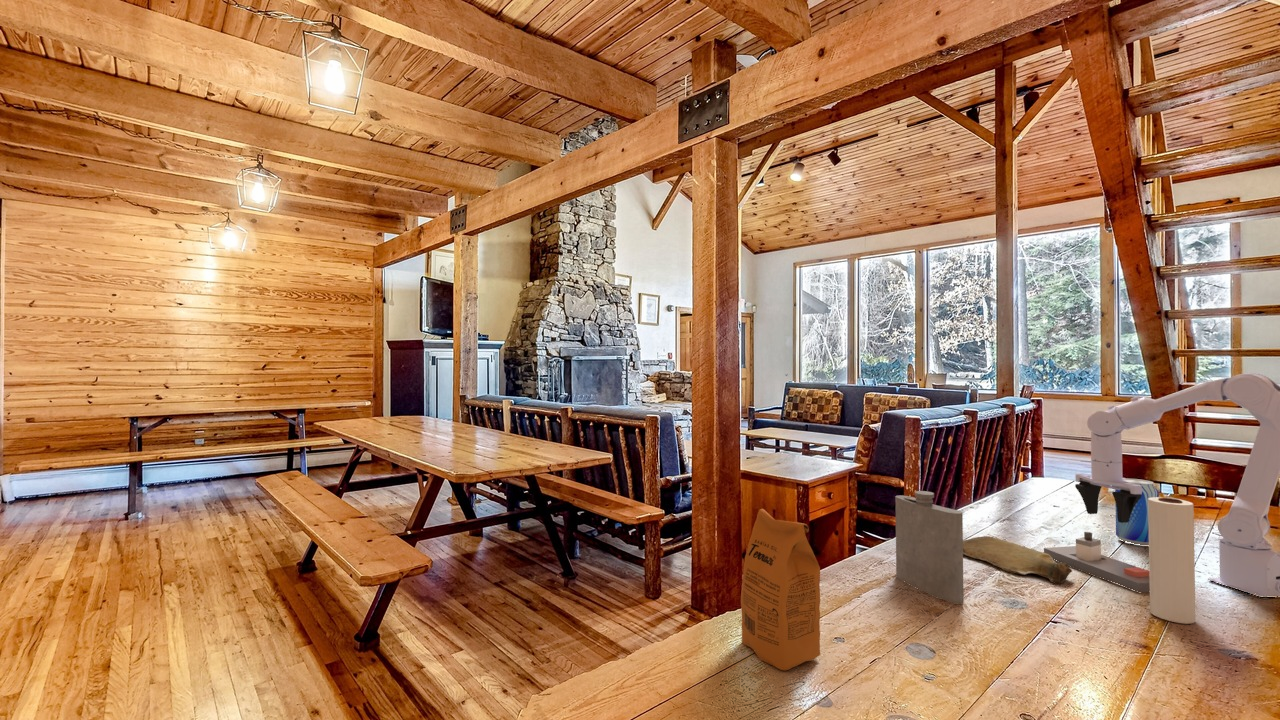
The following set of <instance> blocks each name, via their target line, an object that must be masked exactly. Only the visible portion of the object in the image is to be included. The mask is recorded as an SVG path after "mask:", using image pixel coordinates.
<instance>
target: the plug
mask: <svg viewBox="0 0 1280 720" xmlns="http://www.w3.org/2000/svg"><path fill="white" fill-rule="evenodd" d="M1075 546H1076V557H1077V558H1080V559H1083V560H1086V561H1091V560H1101V555H1102V542H1101V539H1098V538H1093V532H1090V531H1084V534H1083V537H1078V538H1075Z"/></svg>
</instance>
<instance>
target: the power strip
mask: <svg viewBox="0 0 1280 720" xmlns="http://www.w3.org/2000/svg"><path fill="white" fill-rule="evenodd" d="M1043 552H1044V553H1046V554H1049V555H1050V556H1051V557H1052V558H1053V559H1055V560H1057V561H1059V562H1058V563H1060V562H1062V563H1066V564H1067V565H1069V566H1068V567H1070V566H1071V568H1073V567H1074V568H1073V569H1075V568H1077V569H1076V570H1078V569H1080V570H1082V571H1081V572H1083V571H1084V572H1083V573H1086V572H1087V573H1086V574H1088V573H1090V574H1089V575H1091V574H1093V575H1095V576H1094V577H1096V576H1098V577H1101V578H1104V579H1106V580H1109V581H1112V582H1115V583H1118V584H1120V585H1123V586H1125V587H1127V588H1130V589H1133V590H1135V591H1138V592H1147V593H1150V592H1149V591H1150V577H1149V569H1148V570H1147V569H1145V568H1142V567H1138V566H1136V565H1132V564H1129V563H1128V562H1125V561H1121V560H1118V559H1116V558H1112V557H1109V556H1108V555H1107V556H1106V555H1103V554H1101V560H1091V561H1086V560H1083V559H1080V558H1077V557H1076V545H1073V546H1072V545H1071V546H1057V547H1055V546H1054V547H1044V548H1043ZM1055 560H1054V561H1055ZM1057 561H1056V562H1057ZM1080 570H1079V571H1080ZM1093 575H1092V576H1093ZM1098 577H1097V578H1098ZM1101 578H1100V579H1101ZM1104 579H1103V580H1104ZM1106 580H1105V581H1106ZM1109 581H1108V582H1109ZM1127 588H1126V589H1127ZM1135 591H1134V592H1135Z"/></svg>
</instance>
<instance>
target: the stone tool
mask: <svg viewBox="0 0 1280 720" xmlns="http://www.w3.org/2000/svg"><path fill="white" fill-rule="evenodd" d="M963 555H965V556H967V557H970V558H973V559H976V560H981V561H985V562H987V563H989V564H991V565H994V566H995V567H997V568H1000V569H1002V570H1003V571H1004V572H1007V573H1010V574H1012V573H1013V574H1017V575H1024V576H1025V575H1028V574H1033V575H1038V576H1041V577H1043V578H1045V579H1049V581H1050V582H1051V583H1053V584H1055V583H1057V584H1056V585H1061V584H1062V583H1063V582H1065V581H1066V580H1067V579H1068V577H1069V575H1070V574H1071V573H1072V572H1073V570H1072V569H1071V568H1070V566H1068V565H1067V564H1066V563H1060V562H1058V563H1057V562H1056V561H1055V560H1053V558H1052V557H1051V556H1050V555H1049V554H1046V553H1044V551H1038V550H1036V549H1034V548H1031V547H1027V546H1024V545H1020V544H1017V543H1014V542H1010V541H1007V540H1006V539H1001V538H999V537H993V536H990V535H989V536H988V535H984V536H978V537H977V536H976V537H972V538H971V537H970V538H968V539H965V540H963Z"/></svg>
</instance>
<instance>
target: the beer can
mask: <svg viewBox="0 0 1280 720" xmlns="http://www.w3.org/2000/svg"><path fill="white" fill-rule="evenodd" d="M1123 479H1124V481H1127V482H1130V483H1133V484H1137V485H1141V486H1142V494H1141V498H1140V499H1139V500H1138V502H1137V503H1136V505H1135V506H1134V508H1133V510H1132V513H1131V516H1130V519H1129V522H1127V523H1120V522H1118V518H1117V506H1116V502H1115V506H1114V507H1115V536H1116V537H1117V538H1118V539H1121V540H1123V541H1127V542H1131V543H1134V544H1140V545H1149V520H1148V498H1151V497H1160V492H1159V490H1158V489H1157V488H1156V486H1155V485H1154V481H1151V480H1147V479H1146V480H1145V479H1138V478H1128V477H1127V478H1126V477H1125V478H1123ZM1114 492H1120V490H1116V489H1114Z"/></svg>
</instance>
